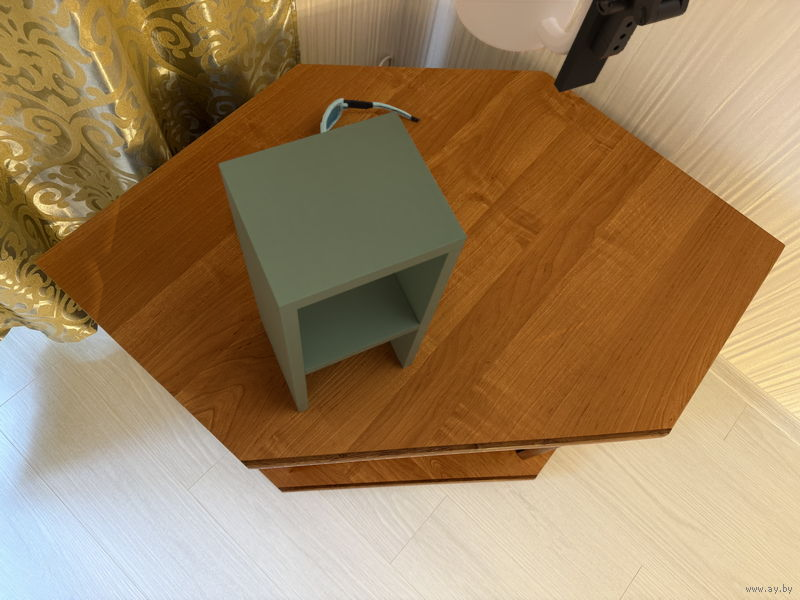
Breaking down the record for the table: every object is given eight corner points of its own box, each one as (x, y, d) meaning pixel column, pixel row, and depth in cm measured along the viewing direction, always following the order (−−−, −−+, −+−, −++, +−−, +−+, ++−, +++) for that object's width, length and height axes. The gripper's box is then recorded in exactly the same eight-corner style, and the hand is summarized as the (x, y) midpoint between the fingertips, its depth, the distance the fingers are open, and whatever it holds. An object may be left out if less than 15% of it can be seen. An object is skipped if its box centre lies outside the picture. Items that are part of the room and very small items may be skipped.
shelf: (412, 364, 69) (467, 237, 42) (298, 412, 66) (278, 307, 38) (370, 278, 73) (395, 110, 46) (260, 319, 69) (217, 163, 42)
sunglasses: (310, 114, 82) (314, 88, 78) (413, 119, 86) (422, 94, 82) (321, 201, 77) (326, 178, 72) (430, 201, 81) (441, 179, 76)
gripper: (463, -640, 23) (401, -91, 43) (879, -332, 15) (571, 170, 35) (618, -627, 25) (491, -107, 45) (1058, -347, 17) (671, 136, 37)
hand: (526, 14), depth 40 cm, fingers closed on mug, 12 cm apart
